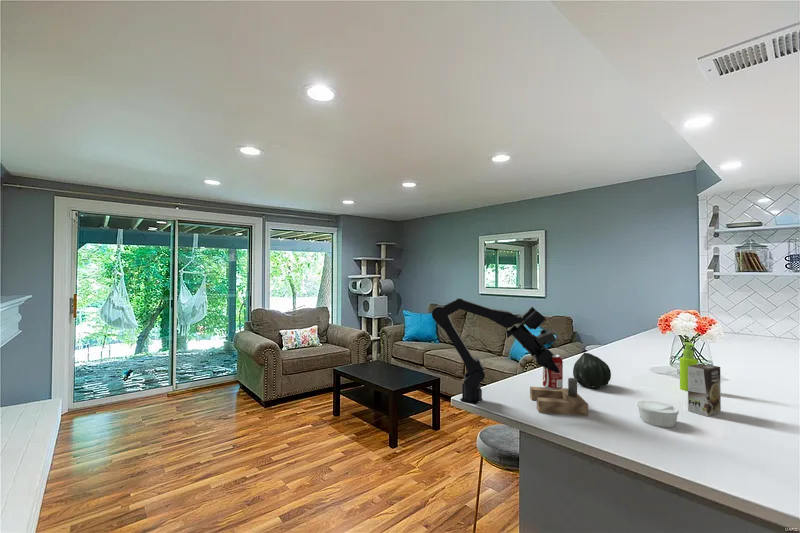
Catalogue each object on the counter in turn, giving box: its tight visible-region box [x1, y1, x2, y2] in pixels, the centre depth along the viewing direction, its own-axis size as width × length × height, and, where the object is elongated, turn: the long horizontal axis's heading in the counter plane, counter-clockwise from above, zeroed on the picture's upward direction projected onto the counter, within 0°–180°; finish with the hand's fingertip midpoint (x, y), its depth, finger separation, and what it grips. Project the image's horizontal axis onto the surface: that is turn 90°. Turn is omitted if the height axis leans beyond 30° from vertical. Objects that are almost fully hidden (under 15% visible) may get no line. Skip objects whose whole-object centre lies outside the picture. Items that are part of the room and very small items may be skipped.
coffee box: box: [687, 363, 722, 417], centre depth 133 cm, size 9×6×16 cm
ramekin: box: [636, 400, 680, 428], centre depth 123 cm, size 11×11×5 cm
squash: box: [572, 352, 612, 389], centre depth 163 cm, size 14×15×15 cm
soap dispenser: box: [679, 341, 698, 392], centre depth 158 cm, size 6×7×20 cm
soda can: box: [542, 353, 564, 390], centre depth 138 cm, size 7×7×12 cm
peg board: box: [529, 377, 589, 417], centre depth 138 cm, size 16×17×10 cm
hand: (556, 369), depth 137 cm, fingers closed on soda can, 6 cm apart
